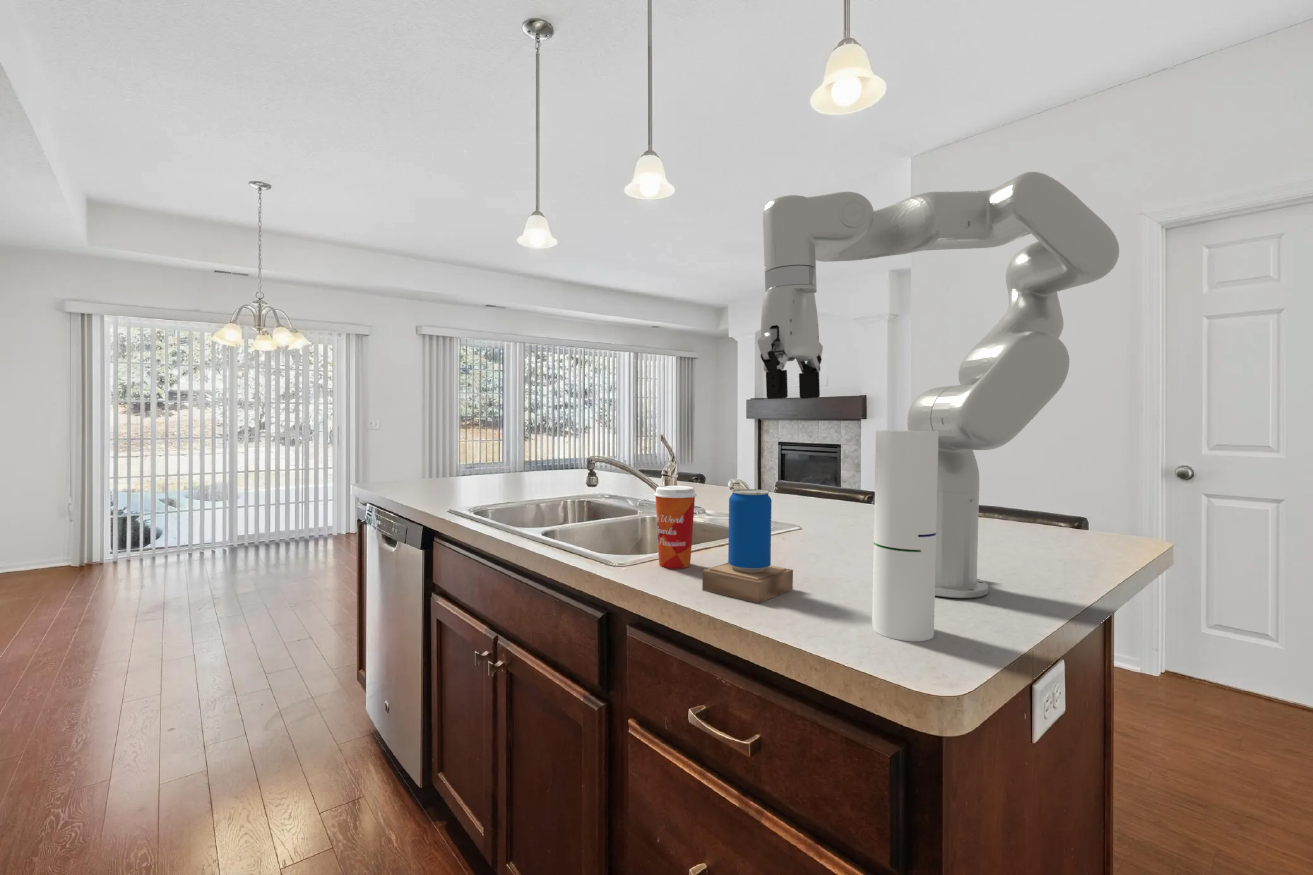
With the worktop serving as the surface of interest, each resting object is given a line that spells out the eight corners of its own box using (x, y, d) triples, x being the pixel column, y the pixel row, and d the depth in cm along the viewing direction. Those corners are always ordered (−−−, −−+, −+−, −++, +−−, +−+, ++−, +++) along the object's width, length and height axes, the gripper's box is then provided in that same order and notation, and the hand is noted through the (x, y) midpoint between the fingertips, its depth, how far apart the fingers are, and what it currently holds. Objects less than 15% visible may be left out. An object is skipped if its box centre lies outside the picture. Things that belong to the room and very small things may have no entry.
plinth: (738, 577, 99) (738, 557, 99) (792, 588, 92) (793, 568, 92) (702, 589, 91) (702, 568, 91) (758, 603, 85) (758, 580, 85)
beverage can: (770, 575, 88) (771, 494, 87) (726, 572, 89) (727, 493, 89) (770, 564, 94) (771, 489, 94) (729, 562, 95) (730, 488, 95)
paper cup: (644, 565, 106) (645, 487, 106) (671, 557, 112) (672, 484, 112) (678, 572, 101) (679, 491, 101) (705, 564, 107) (705, 487, 107)
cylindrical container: (947, 638, 72) (952, 431, 71) (897, 643, 70) (902, 431, 69) (906, 618, 79) (910, 430, 78) (860, 623, 77) (864, 430, 76)
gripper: (796, 295, 98) (799, 399, 98) (736, 280, 85) (740, 400, 86) (839, 287, 93) (842, 396, 93) (782, 270, 80) (786, 397, 81)
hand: (794, 398), depth 89 cm, fingers open, 9 cm apart
